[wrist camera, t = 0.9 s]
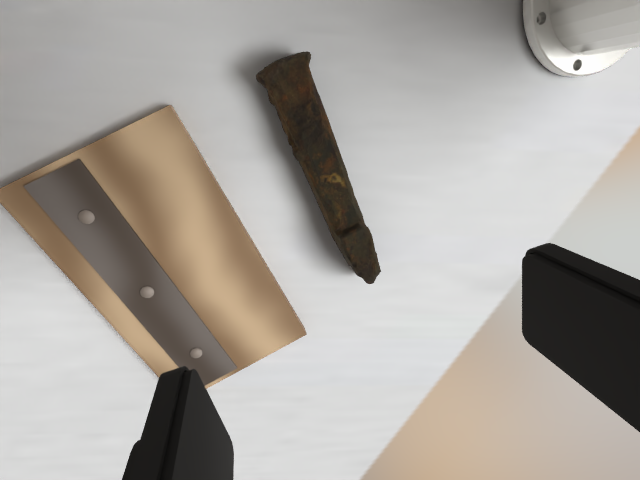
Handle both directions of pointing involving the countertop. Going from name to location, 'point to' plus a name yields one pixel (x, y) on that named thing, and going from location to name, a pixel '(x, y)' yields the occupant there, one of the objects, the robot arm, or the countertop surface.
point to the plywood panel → (157, 249)
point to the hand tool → (320, 158)
